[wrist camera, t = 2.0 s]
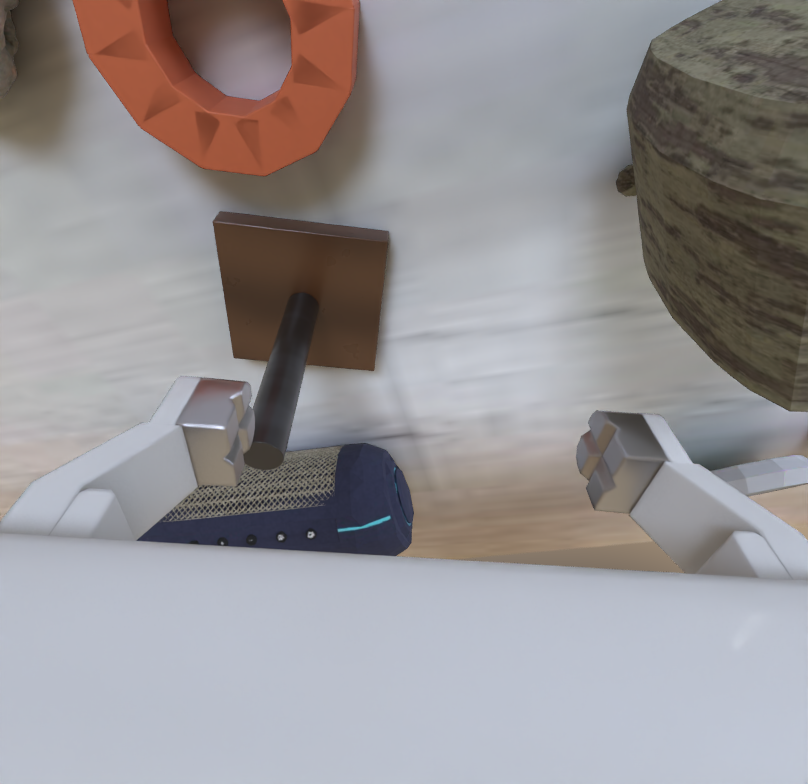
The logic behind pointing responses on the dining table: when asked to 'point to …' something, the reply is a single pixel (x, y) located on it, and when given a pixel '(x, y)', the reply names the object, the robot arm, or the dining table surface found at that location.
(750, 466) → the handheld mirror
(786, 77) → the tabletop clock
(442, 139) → the dining table surface
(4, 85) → the long grey stone
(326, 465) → the portable speaker
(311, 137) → the ring
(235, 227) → the stand
